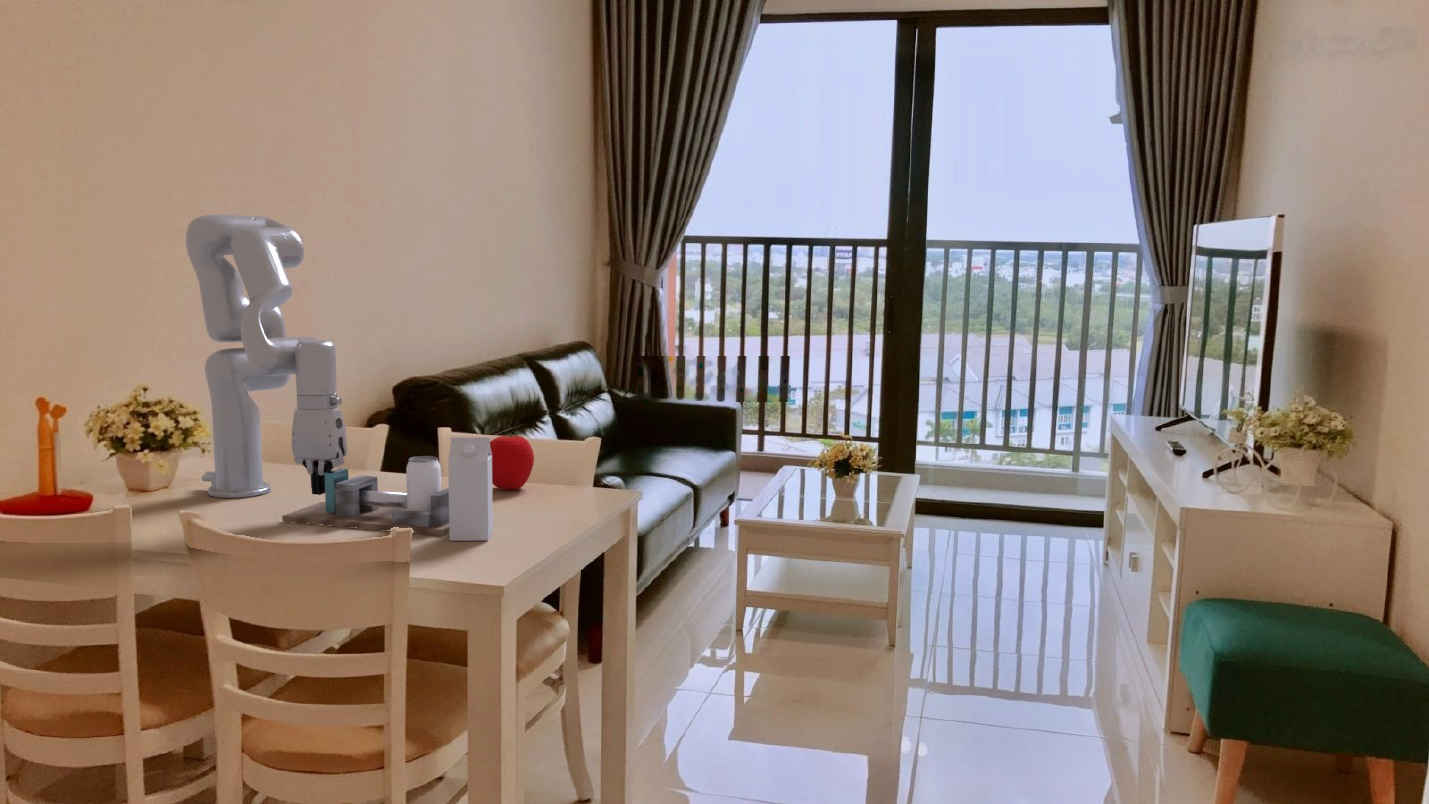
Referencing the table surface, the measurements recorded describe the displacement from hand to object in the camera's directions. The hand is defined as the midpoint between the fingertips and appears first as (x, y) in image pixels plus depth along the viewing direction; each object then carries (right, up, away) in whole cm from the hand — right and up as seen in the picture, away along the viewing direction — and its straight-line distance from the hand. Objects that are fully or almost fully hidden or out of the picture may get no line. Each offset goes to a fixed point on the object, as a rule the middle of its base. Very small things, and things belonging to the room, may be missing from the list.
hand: (320, 493), depth 219 cm
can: (+22, -5, -5) cm, 23 cm away
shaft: (+11, -4, -2) cm, 12 cm away
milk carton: (+33, -7, -13) cm, 36 cm away
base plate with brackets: (+13, -5, -3) cm, 14 cm away
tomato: (+33, -2, +28) cm, 43 cm away
